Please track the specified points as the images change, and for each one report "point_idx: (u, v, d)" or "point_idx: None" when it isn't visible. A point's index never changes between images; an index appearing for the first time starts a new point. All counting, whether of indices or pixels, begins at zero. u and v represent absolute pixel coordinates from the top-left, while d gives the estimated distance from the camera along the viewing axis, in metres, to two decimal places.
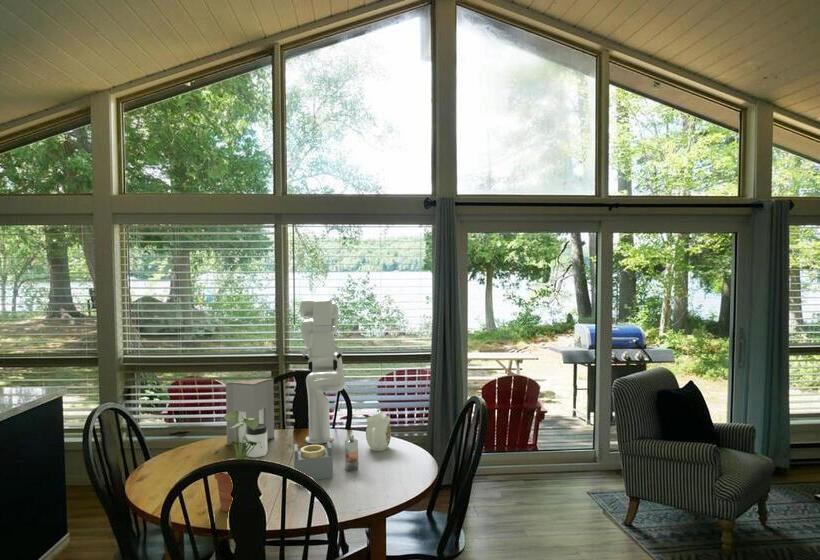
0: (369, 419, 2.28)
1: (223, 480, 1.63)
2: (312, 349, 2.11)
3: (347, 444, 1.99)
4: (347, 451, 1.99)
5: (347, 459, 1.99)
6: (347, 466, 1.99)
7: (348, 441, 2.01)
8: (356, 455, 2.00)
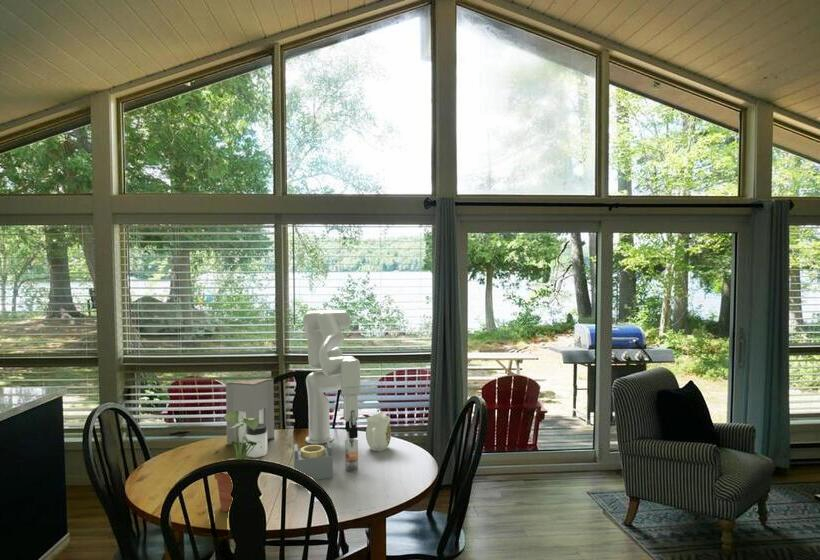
0: (369, 419, 2.28)
1: (223, 480, 1.63)
2: None
3: (347, 444, 1.99)
4: (347, 451, 1.99)
5: (347, 459, 1.99)
6: (347, 466, 1.99)
7: (348, 441, 2.01)
8: (356, 455, 2.00)
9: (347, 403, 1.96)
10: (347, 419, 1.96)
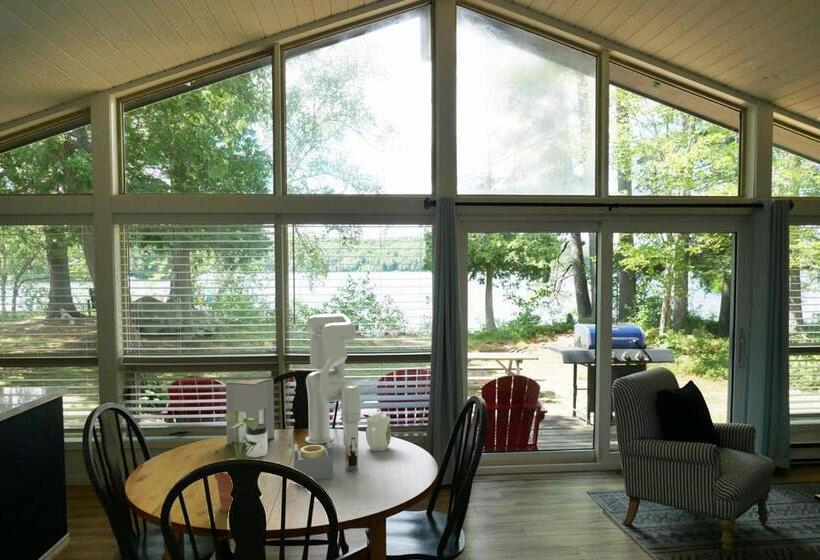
0: (369, 419, 2.28)
1: (223, 480, 1.63)
2: None
3: None
4: (347, 451, 1.99)
5: (347, 459, 1.99)
6: (347, 466, 1.99)
7: None
8: None
9: (347, 430, 1.96)
10: (347, 446, 1.96)
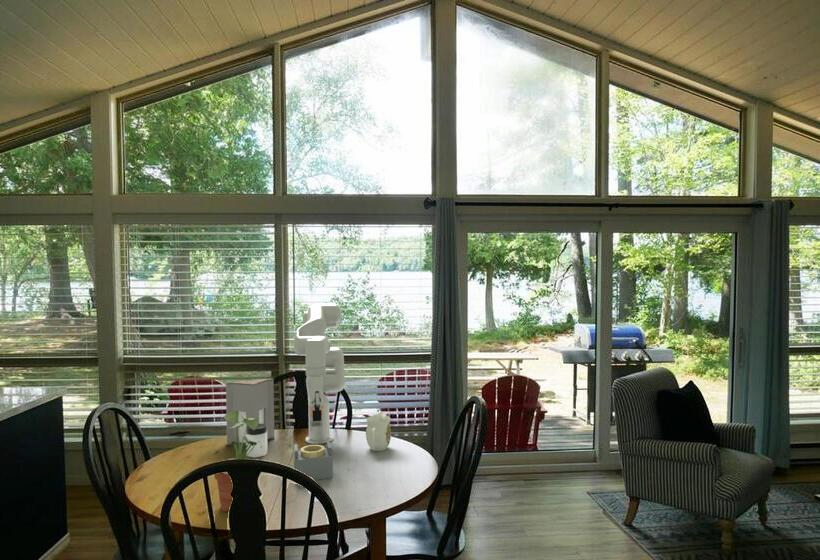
0: (369, 419, 2.28)
1: (223, 480, 1.63)
2: (322, 393, 1.93)
3: None
4: (312, 406, 1.94)
5: (311, 414, 1.94)
6: (311, 421, 1.94)
7: None
8: (321, 410, 1.95)
9: (311, 384, 1.91)
10: (311, 400, 1.91)
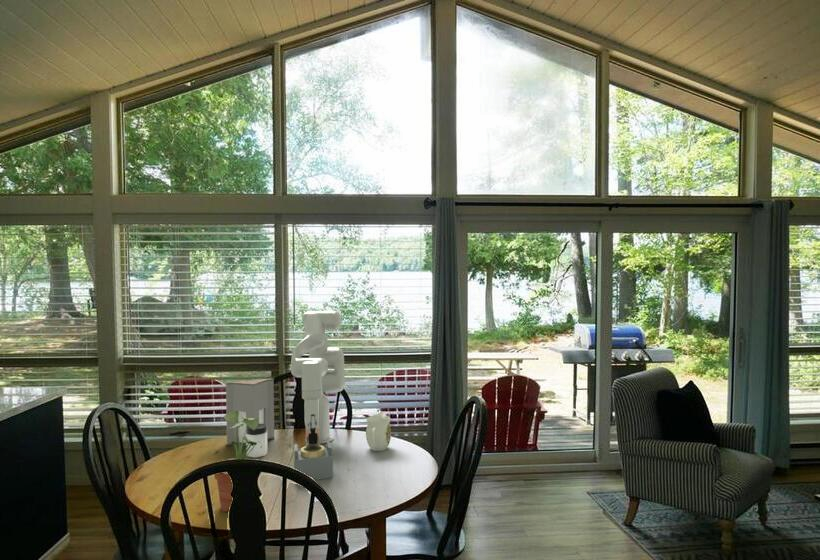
0: (369, 419, 2.28)
1: (223, 480, 1.63)
2: (318, 416, 1.92)
3: None
4: (308, 429, 1.94)
5: (307, 437, 1.94)
6: (307, 444, 1.94)
7: None
8: (317, 433, 1.94)
9: (307, 407, 1.91)
10: (307, 423, 1.91)
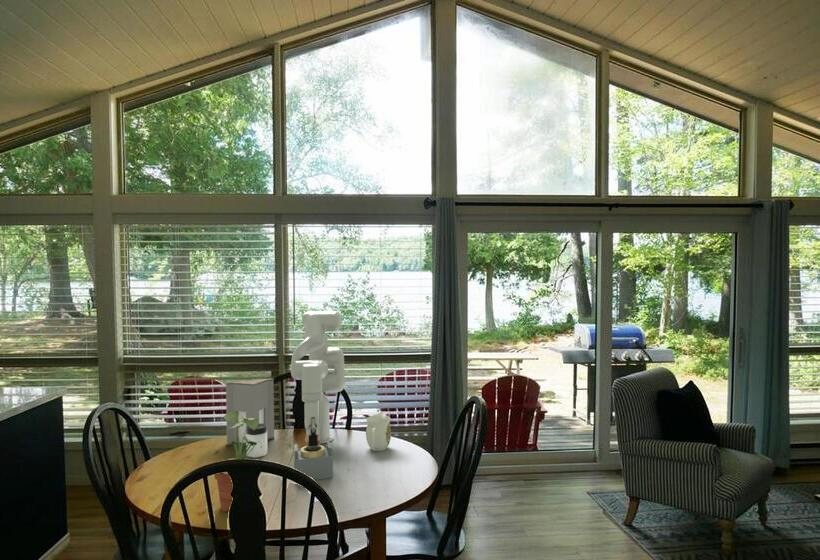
0: (369, 419, 2.28)
1: (223, 480, 1.63)
2: (318, 419, 1.92)
3: None
4: (308, 435, 1.94)
5: (308, 443, 1.94)
6: (308, 450, 1.94)
7: None
8: None
9: (307, 409, 1.91)
10: (307, 426, 1.91)
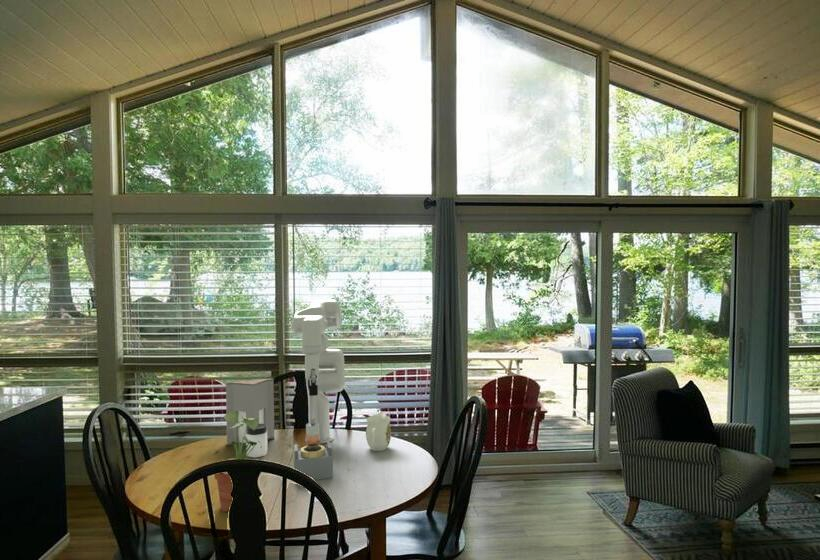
0: (369, 419, 2.28)
1: (223, 480, 1.63)
2: (318, 371, 2.00)
3: (308, 427, 1.94)
4: (308, 435, 1.94)
5: (308, 443, 1.94)
6: (308, 450, 1.94)
7: (309, 424, 1.96)
8: (317, 439, 1.95)
9: (307, 361, 1.99)
10: (307, 377, 1.99)
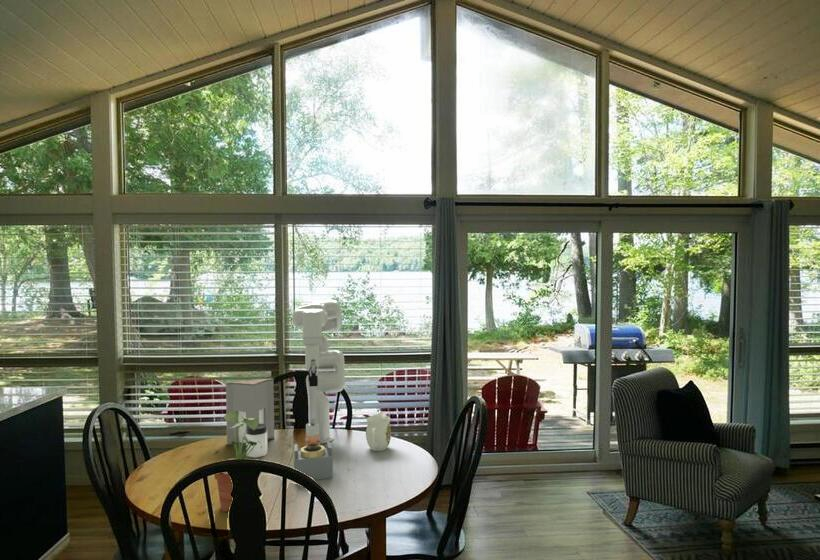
0: (369, 419, 2.28)
1: (223, 480, 1.63)
2: (318, 362, 2.04)
3: (308, 427, 1.94)
4: (308, 435, 1.94)
5: (308, 443, 1.94)
6: (308, 450, 1.94)
7: (309, 424, 1.96)
8: (317, 439, 1.95)
9: (308, 352, 2.03)
10: (307, 368, 2.02)
